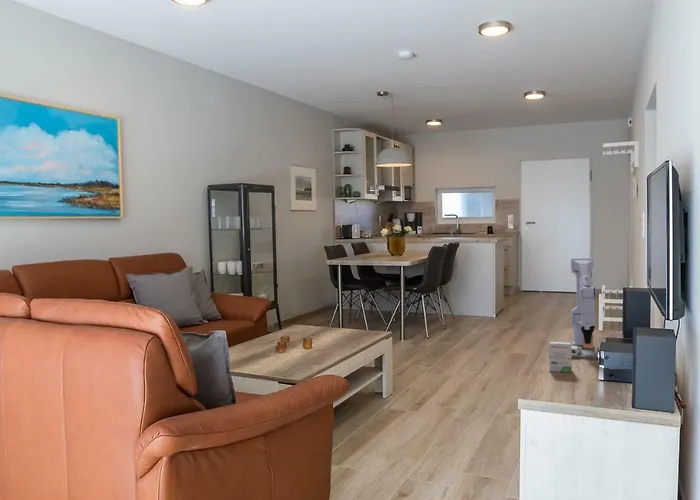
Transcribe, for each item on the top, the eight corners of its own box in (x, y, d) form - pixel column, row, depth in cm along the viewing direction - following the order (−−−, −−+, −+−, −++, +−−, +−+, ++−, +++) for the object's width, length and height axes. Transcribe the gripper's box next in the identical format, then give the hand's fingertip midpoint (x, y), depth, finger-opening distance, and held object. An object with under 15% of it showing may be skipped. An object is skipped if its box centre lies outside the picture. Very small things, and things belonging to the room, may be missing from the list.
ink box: (571, 370, 244) (571, 342, 243) (570, 373, 239) (570, 344, 239) (550, 368, 247) (550, 340, 247) (549, 371, 243) (548, 343, 242)
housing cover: (566, 351, 272) (566, 345, 272) (578, 352, 270) (578, 345, 270) (565, 354, 267) (565, 347, 267) (577, 355, 265) (577, 348, 265)
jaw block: (583, 345, 269) (583, 334, 269) (593, 346, 267) (593, 335, 267) (583, 347, 265) (583, 336, 265) (592, 348, 264) (592, 337, 263)
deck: (566, 350, 279) (566, 342, 278) (598, 352, 273) (598, 344, 272) (563, 357, 266) (563, 348, 266) (597, 359, 260) (597, 350, 260)
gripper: (579, 310, 274) (579, 338, 275) (577, 315, 261) (577, 345, 261) (595, 310, 271) (596, 339, 271) (594, 315, 258) (594, 346, 258)
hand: (588, 342), depth 266 cm, fingers closed on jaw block, 4 cm apart
